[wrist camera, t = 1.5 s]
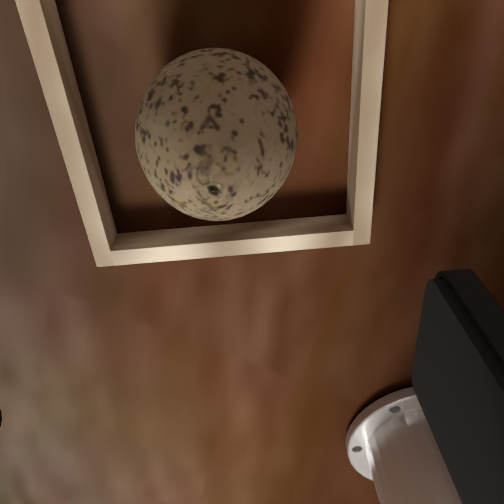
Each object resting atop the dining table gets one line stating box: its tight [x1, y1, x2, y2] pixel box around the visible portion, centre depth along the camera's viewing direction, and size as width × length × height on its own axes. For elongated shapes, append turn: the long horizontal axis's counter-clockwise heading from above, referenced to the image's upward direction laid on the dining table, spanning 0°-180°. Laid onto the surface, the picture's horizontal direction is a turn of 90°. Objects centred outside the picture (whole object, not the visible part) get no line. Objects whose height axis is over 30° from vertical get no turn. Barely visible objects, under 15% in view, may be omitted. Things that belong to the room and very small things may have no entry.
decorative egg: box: [135, 48, 298, 221], centre depth 20 cm, size 7×7×10 cm
